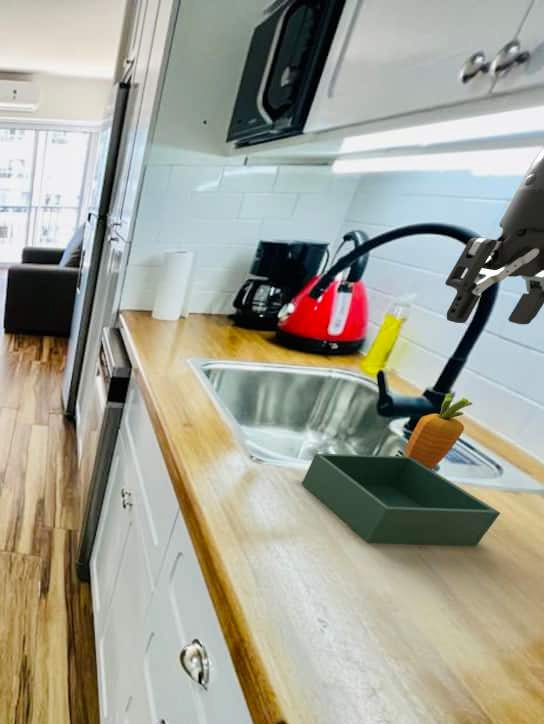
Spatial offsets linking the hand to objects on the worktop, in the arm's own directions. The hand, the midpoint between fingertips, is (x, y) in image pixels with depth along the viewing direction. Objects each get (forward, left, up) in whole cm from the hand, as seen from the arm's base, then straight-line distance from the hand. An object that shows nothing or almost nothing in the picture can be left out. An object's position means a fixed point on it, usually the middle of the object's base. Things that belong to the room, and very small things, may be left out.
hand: (486, 322), depth 65 cm
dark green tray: (+9, +9, -26) cm, 29 cm away
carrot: (-2, 0, -26) cm, 26 cm away
